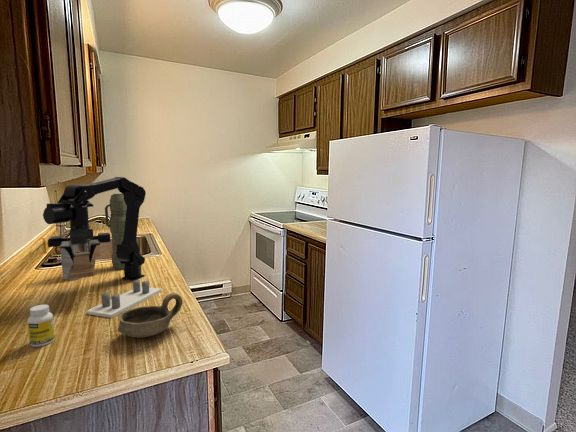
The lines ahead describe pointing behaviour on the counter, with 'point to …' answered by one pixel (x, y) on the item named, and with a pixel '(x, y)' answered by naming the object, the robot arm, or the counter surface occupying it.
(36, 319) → the supplement bottle
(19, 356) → the counter surface
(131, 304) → the peg stand
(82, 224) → the robot arm
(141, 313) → the bowl
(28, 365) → the counter surface
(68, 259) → the coffee box
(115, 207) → the thermos
